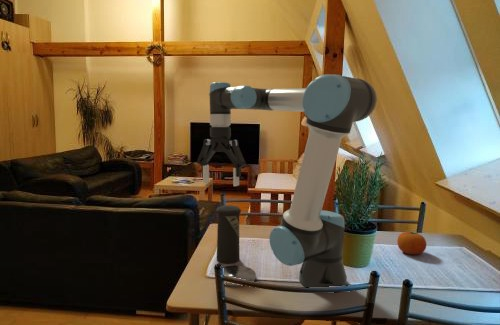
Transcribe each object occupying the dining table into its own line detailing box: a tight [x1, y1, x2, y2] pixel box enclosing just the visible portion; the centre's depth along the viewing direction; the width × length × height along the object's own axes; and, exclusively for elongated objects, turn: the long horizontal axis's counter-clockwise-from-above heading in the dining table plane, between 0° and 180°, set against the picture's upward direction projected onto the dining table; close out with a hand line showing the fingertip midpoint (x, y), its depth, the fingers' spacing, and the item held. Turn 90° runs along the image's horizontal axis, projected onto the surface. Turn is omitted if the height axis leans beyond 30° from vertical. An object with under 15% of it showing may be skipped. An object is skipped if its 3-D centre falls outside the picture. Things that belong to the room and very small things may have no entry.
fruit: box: [396, 231, 427, 255], centre depth 139 cm, size 11×10×8 cm
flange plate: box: [222, 264, 257, 288], centre depth 114 cm, size 13×13×1 cm
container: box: [215, 204, 242, 264], centre depth 127 cm, size 9×9×20 cm
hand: (220, 184), depth 128 cm, fingers open, 13 cm apart
